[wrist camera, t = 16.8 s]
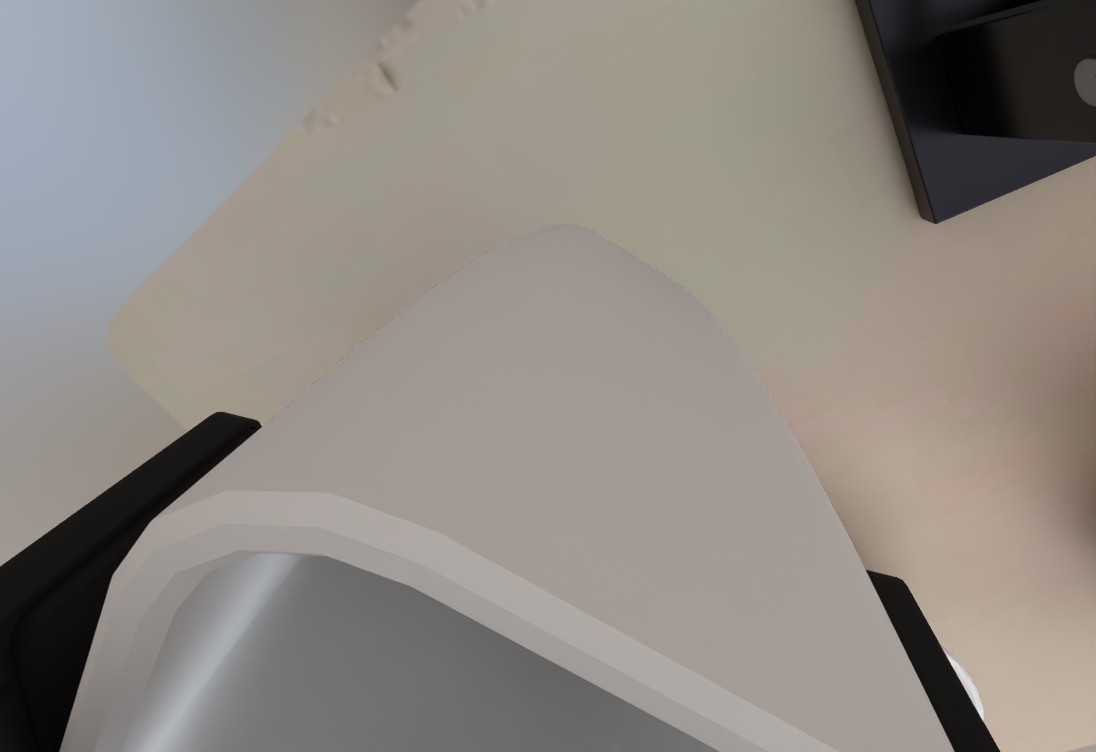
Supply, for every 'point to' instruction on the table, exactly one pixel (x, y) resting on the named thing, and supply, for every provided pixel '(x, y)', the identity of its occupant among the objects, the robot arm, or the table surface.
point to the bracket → (985, 92)
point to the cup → (510, 549)
